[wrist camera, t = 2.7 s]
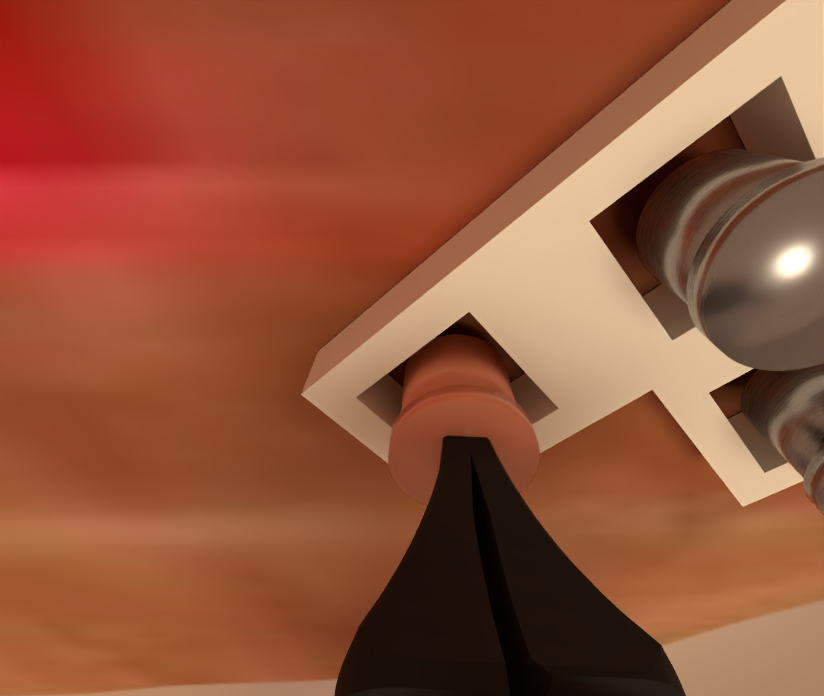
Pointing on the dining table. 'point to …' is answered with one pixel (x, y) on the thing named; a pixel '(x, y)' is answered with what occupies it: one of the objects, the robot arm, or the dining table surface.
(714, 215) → the metal plug
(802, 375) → the metal plug
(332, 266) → the dining table surface
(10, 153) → the dining table surface
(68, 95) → the dining table surface
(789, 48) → the socket block
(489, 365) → the terracotta plug
